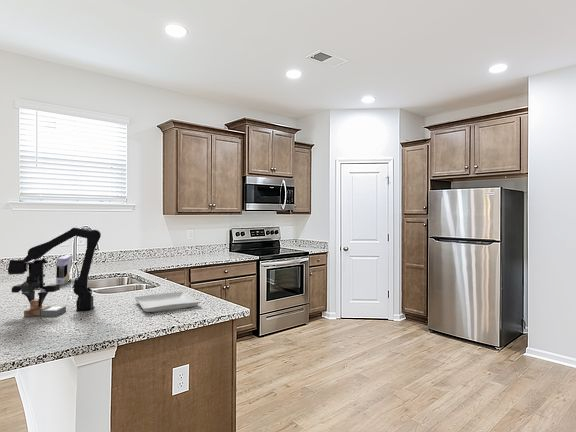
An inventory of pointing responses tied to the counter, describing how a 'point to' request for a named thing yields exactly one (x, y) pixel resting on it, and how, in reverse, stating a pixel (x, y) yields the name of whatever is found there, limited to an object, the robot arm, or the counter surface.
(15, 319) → the counter surface
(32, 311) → the block on square base
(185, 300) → the square plate
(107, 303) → the counter surface
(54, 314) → the board
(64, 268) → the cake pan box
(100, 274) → the counter surface
